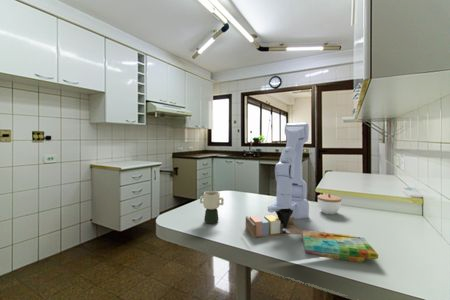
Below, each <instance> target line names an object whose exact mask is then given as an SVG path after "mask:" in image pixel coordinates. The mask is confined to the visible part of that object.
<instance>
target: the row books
mask: <svg viewBox="0 0 450 300" xmlns="http://www.w3.org/2000/svg"><path fill="white" fill-rule="evenodd" d="M249 218H250V219H251V220H252V221H253V222H254V223H255V224H256V237H258V236H268V235H269V222H268V221H267V220H266V219H265V218H264V216H258V215H252V216H249Z"/></svg>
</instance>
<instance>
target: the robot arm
mask: <svg viewBox="0 0 450 300" xmlns="http://www.w3.org/2000/svg"><path fill="white" fill-rule="evenodd" d="M309 131H310V126H309V124H308V122H299V123H298V122H296V123H295V122H294V123H288V122H287V123H286V124H285V125H284V134H285V137H286V145H285V147H284V148H282V151H281V154H280V157H279V161H278V163H276V164H275V167H274V175H275V182H276V201H275V202H274V204H271V205H268V206H267V212H269V213H271V214H273V213H274V212H275V214H276V215H277V218H278V219H279V220H280V222H282V223H283V228H286V227H287V224H288V221H289V218H290V217H294V220H300V219H304V218H309V217H310V216H309V214H310V213H309V212H310V205H309V201H308V199H307V196H308V186H307V185H308V184H307V182H306V181H305V180H304V179H303V178H302V168H303V165H302V164H303V151H304V150H303V149H304V145H305V143H307V142H308V140H309V133H310V132H309Z"/></svg>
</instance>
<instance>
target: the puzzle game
mask: <svg viewBox="0 0 450 300" xmlns="http://www.w3.org/2000/svg"><path fill="white" fill-rule="evenodd" d="M301 238H302V243H303V247H304V251H305V252H306V253H307V254H310V255H316V256H321V258H326V259H327V258H328V259H334V260H341V261H342V260H343V261H349V262H355V263H356V262H358V263H362V262H364V261H365V259H368V260H378V259H379V254H378V253H377V251H376V250H375V249H374V247H372V245H371V244H370V243H369V241H368V240H367V239H366V238H365V237H363V236H357V235H350V234H340V233H333V232H332V233H331V232H326V231H315V230H314V231H313V230H305V229H303V230H302V233H301Z"/></svg>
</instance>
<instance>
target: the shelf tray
mask: <svg viewBox="0 0 450 300" xmlns="http://www.w3.org/2000/svg"><path fill="white" fill-rule="evenodd" d="M285 229H286V230H287V231H288V232H290V234H270V233H269V235H268V236H258V237H256V224H255V223H254V222H253V221H252V220H251V219H250V216H245V230H246V231H247V232H248V234H249V235H250V236H251V237H252V239H260V238H269V237H270V238H271V237H279V236H289V235H291V236H292V235H299V234H302V231H303V230H302V229H300V227H298V226H297V225H295V219H294V217H290V218H289V221H288V224H287V227H286V228H285Z"/></svg>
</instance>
